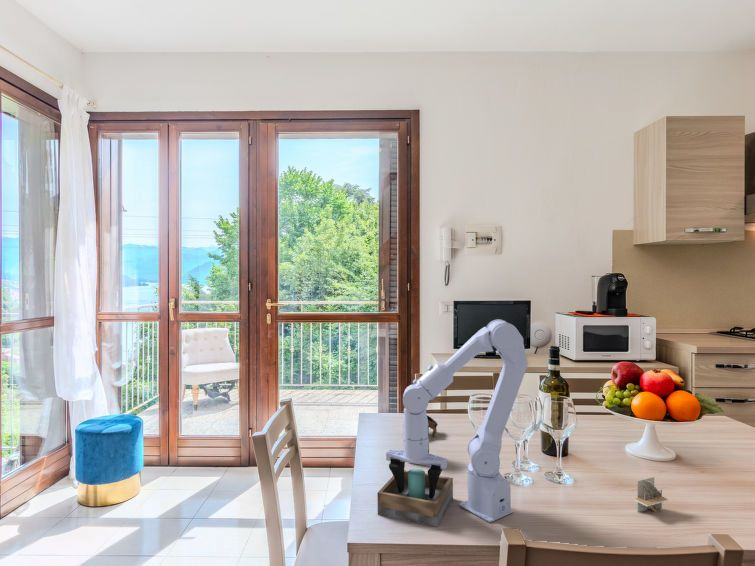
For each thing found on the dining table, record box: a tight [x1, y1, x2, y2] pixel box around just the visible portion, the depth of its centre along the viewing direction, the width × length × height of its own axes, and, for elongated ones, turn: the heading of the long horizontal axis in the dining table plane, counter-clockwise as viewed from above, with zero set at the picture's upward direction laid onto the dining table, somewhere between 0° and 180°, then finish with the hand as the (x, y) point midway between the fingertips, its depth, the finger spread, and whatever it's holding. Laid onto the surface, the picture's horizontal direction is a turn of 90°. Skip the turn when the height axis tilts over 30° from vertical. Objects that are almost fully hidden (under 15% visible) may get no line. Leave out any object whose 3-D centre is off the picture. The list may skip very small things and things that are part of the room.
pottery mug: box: [426, 414, 439, 438], centre depth 159 cm, size 12×10×8 cm
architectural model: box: [633, 476, 669, 513], centre depth 106 cm, size 3×7×7 cm, turn 113°
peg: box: [407, 468, 426, 500], centre depth 110 cm, size 4×4×8 cm
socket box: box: [376, 469, 454, 528], centre depth 110 cm, size 14×14×5 cm
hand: (416, 494), depth 110 cm, fingers open, 7 cm apart
